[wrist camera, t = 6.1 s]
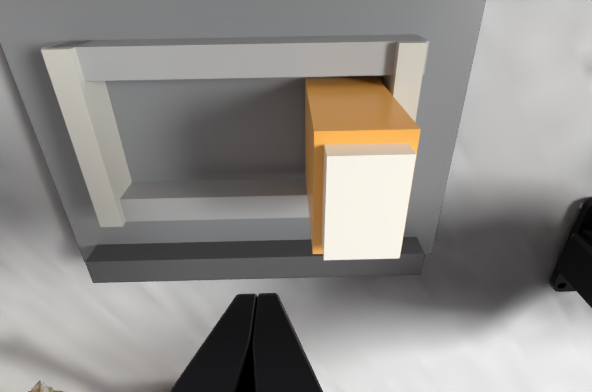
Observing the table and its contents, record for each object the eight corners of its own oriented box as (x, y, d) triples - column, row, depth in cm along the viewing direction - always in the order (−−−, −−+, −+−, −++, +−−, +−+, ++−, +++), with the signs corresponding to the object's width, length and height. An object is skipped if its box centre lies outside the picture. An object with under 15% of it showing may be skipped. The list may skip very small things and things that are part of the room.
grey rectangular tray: (487, -77, 14) (535, -88, 12) (424, 240, 22) (444, 279, 19) (-21, -70, 14) (-94, -79, 11) (94, 248, 22) (66, 288, 19)
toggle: (377, 76, 16) (430, 140, 10) (368, 171, 18) (407, 267, 12) (305, 78, 16) (316, 142, 10) (305, 172, 18) (314, 270, 12)
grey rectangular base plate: (476, -88, 13) (495, -93, 12) (412, 257, 21) (420, 274, 20) (-18, -81, 13) (-49, -86, 12) (104, 264, 21) (93, 282, 20)
